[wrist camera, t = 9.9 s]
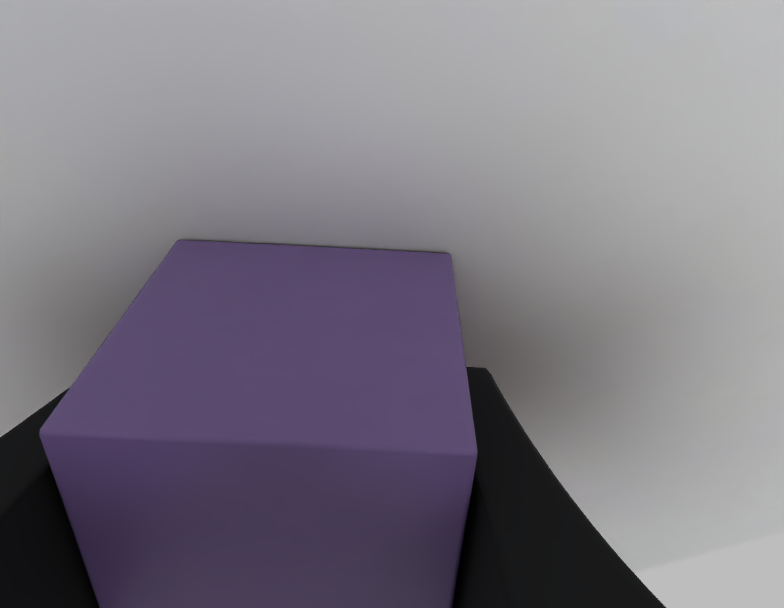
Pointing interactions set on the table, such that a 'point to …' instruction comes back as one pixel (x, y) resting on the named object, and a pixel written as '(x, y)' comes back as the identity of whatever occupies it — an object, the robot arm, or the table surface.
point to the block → (273, 433)
